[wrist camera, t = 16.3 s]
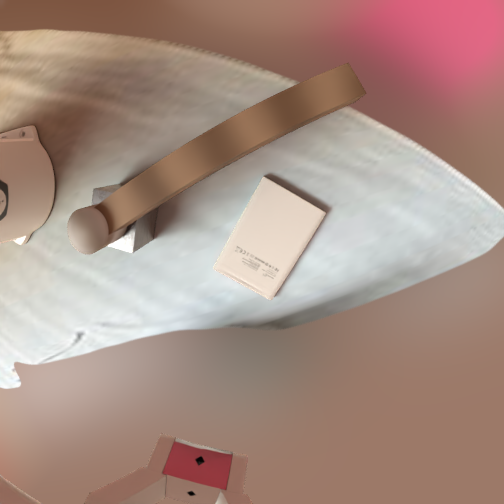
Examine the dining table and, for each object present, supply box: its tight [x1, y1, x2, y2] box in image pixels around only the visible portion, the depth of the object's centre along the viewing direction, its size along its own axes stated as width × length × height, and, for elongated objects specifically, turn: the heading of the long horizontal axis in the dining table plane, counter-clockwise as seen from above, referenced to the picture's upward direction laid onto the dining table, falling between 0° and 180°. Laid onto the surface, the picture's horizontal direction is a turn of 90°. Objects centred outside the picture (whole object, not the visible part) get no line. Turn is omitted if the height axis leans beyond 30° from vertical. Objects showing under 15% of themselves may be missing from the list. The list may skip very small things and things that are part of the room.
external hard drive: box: [213, 176, 326, 300], centre depth 36 cm, size 2×8×12 cm
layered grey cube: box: [92, 184, 158, 253], centre depth 34 cm, size 6×6×6 cm
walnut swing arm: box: [67, 63, 366, 254], centre depth 26 cm, size 30×4×5 cm, turn 118°
